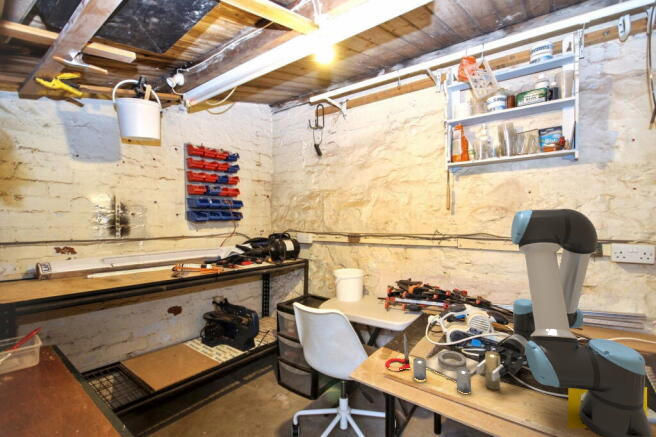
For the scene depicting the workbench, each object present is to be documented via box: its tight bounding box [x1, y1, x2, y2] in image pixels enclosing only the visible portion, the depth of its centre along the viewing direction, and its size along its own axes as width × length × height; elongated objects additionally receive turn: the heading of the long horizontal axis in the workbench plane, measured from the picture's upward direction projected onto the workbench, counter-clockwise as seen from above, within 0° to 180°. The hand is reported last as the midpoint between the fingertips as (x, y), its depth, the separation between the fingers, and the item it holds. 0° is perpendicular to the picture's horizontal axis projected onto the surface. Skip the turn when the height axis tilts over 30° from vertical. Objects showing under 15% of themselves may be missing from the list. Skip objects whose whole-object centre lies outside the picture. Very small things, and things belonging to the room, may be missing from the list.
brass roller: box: [484, 351, 501, 390], centre depth 109 cm, size 4×4×11 cm
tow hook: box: [384, 333, 412, 370], centre depth 125 cm, size 8×13×9 cm
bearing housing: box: [426, 348, 479, 383], centre depth 123 cm, size 16×16×4 cm
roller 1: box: [412, 356, 427, 380], centre depth 116 cm, size 4×4×7 cm
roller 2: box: [456, 367, 472, 393], centre depth 109 cm, size 4×4×7 cm
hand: (485, 373), depth 105 cm, fingers closed on brass roller, 4 cm apart
